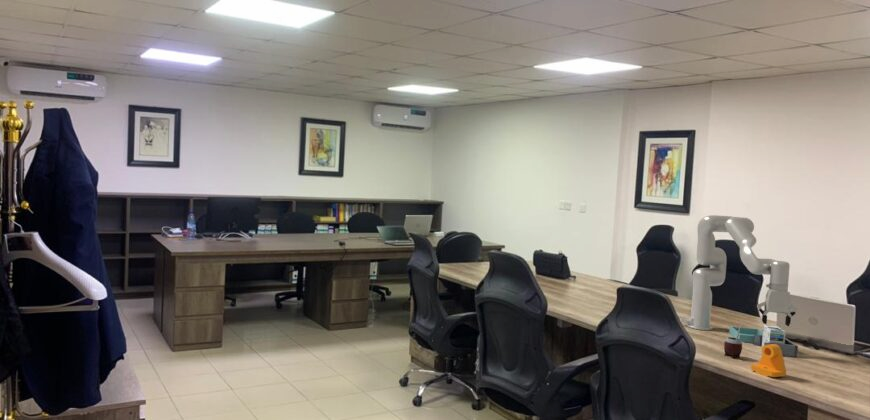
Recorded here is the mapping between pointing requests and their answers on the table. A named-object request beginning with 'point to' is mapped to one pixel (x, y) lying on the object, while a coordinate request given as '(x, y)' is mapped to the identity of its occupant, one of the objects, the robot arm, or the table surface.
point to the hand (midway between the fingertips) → (775, 324)
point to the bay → (786, 348)
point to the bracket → (770, 362)
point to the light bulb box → (773, 335)
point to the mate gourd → (733, 346)
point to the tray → (744, 333)
